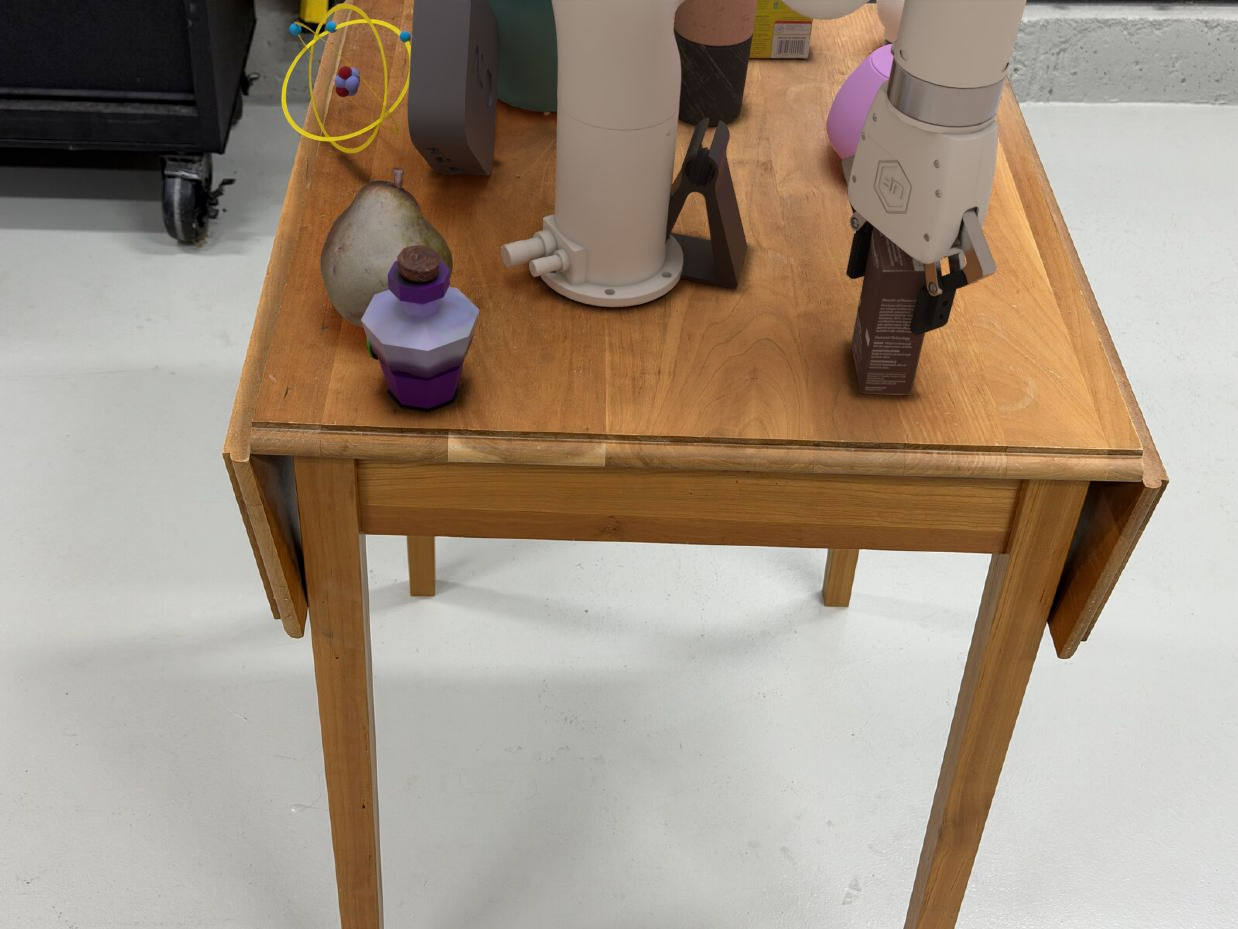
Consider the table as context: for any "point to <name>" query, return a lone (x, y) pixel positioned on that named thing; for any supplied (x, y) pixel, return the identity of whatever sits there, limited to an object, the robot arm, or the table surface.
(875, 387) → the box
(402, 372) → the potion bottle
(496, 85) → the streaming box
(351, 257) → the fruit
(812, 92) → the table surface
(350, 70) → the atom model
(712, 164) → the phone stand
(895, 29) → the light bulb
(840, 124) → the teapot
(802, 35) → the crayon box
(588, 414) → the table surface
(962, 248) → the robot arm
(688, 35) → the travel mug
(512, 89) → the flower pot
